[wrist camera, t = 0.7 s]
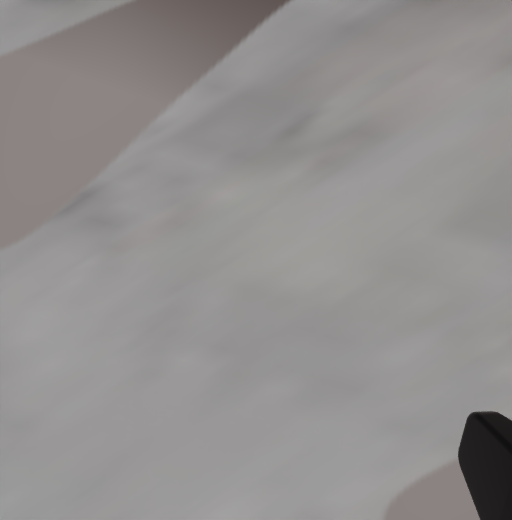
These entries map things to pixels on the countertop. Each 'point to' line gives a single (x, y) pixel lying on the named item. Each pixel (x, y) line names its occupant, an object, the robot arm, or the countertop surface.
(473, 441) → the robot arm
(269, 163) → the countertop surface
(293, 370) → the countertop surface
